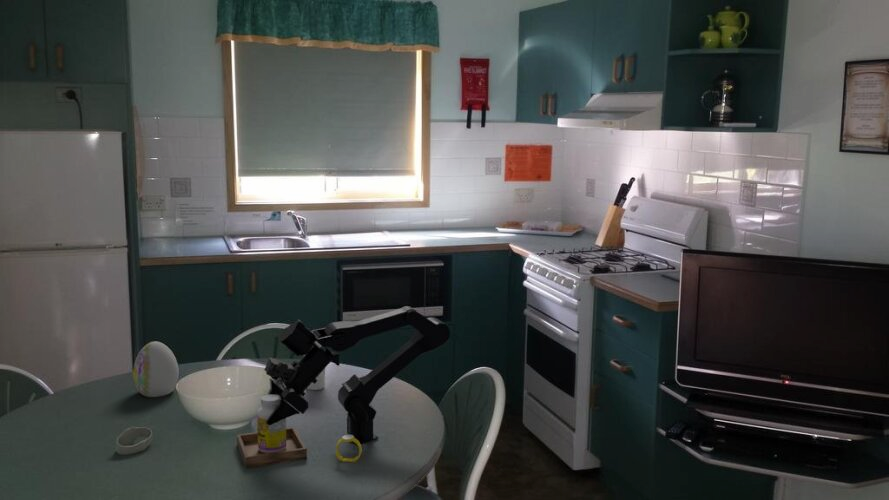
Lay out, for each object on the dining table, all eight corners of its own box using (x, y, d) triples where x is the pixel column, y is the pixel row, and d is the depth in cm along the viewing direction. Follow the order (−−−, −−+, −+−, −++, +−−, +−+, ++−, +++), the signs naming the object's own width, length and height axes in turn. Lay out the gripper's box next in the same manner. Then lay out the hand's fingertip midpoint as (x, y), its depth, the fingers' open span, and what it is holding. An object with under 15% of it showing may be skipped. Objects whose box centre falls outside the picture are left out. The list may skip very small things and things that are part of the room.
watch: (335, 464, 191) (333, 439, 190) (337, 459, 193) (335, 435, 192) (361, 462, 190) (359, 438, 189) (363, 457, 193) (360, 433, 192)
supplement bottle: (255, 446, 198) (253, 394, 196) (282, 442, 200) (281, 391, 198) (261, 456, 192) (259, 403, 190) (289, 452, 194) (288, 399, 192)
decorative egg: (135, 387, 240) (132, 337, 237) (179, 383, 243) (177, 334, 241) (133, 401, 228) (129, 349, 226) (179, 397, 232) (176, 346, 229)
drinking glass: (325, 392, 237) (324, 341, 235) (301, 391, 237) (300, 341, 235) (328, 384, 244) (328, 335, 241) (306, 383, 244) (304, 334, 241)
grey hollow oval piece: (143, 439, 203) (141, 420, 202) (159, 445, 200) (158, 425, 199) (110, 452, 196) (109, 432, 195) (127, 458, 192) (125, 438, 192)
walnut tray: (294, 436, 205) (294, 427, 205) (306, 458, 192) (306, 448, 192) (237, 444, 200) (236, 434, 200) (245, 468, 187) (245, 457, 187)
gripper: (277, 336, 202) (233, 385, 200) (293, 358, 185) (244, 411, 183) (310, 363, 206) (267, 411, 204) (328, 387, 189) (281, 439, 187)
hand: (264, 417), depth 194 cm, fingers open, 8 cm apart
